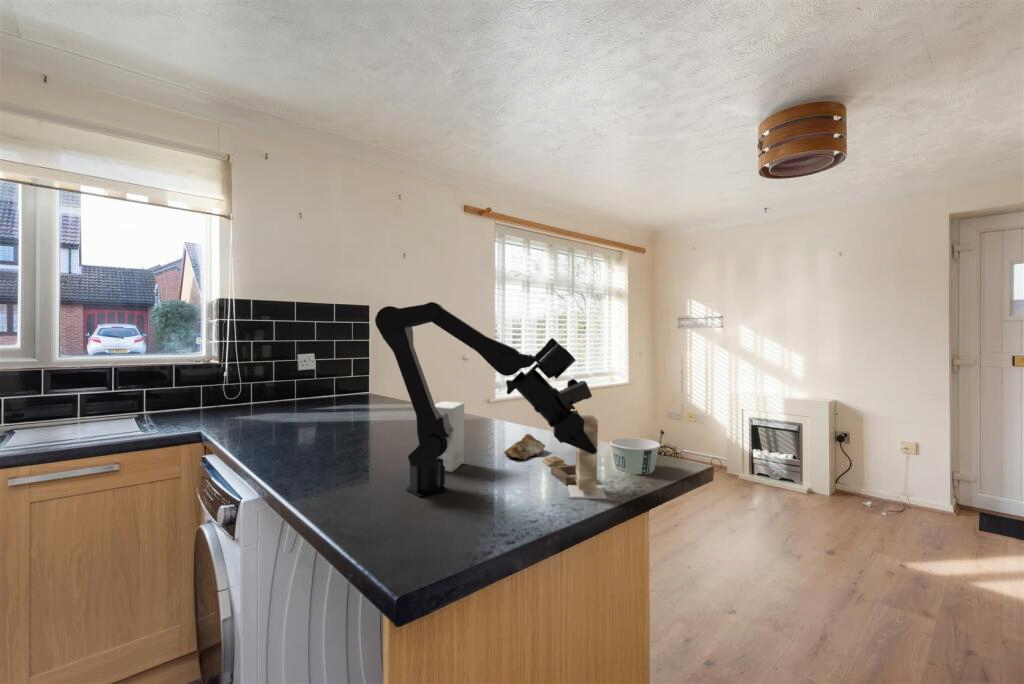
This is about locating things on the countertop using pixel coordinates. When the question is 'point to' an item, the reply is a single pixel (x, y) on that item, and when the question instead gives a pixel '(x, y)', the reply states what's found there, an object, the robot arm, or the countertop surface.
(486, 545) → the countertop surface
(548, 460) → the oak offcuts
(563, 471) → the walnut rack
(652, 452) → the food container
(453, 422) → the skincare box
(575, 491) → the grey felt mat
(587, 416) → the tan wooden block
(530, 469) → the countertop surface
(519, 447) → the decorative stone
